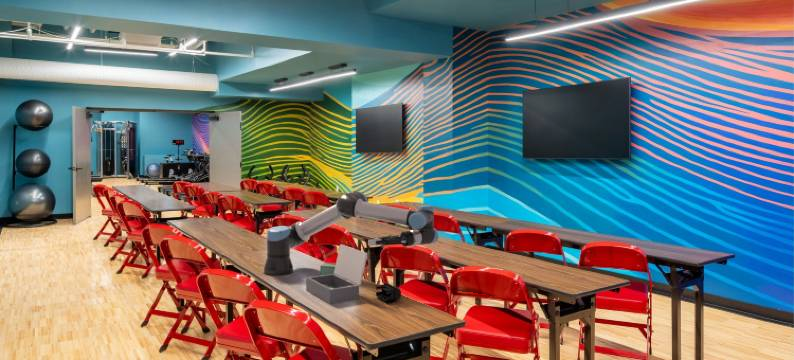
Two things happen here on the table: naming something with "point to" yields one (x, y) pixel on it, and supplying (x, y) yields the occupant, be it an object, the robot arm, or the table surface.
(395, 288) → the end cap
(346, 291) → the grey tray
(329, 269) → the box
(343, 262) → the cover
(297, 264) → the table surface
